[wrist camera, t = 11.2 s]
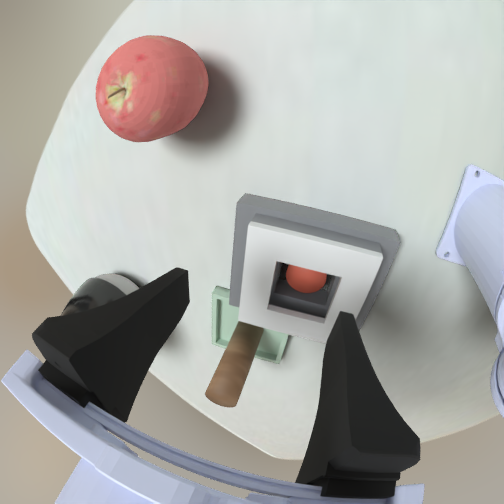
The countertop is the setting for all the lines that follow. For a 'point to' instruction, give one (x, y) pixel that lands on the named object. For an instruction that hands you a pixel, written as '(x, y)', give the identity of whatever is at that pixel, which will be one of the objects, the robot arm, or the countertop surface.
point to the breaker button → (305, 279)
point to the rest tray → (227, 322)
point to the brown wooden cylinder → (234, 365)
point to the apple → (151, 88)
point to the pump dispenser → (99, 292)
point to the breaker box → (305, 265)
